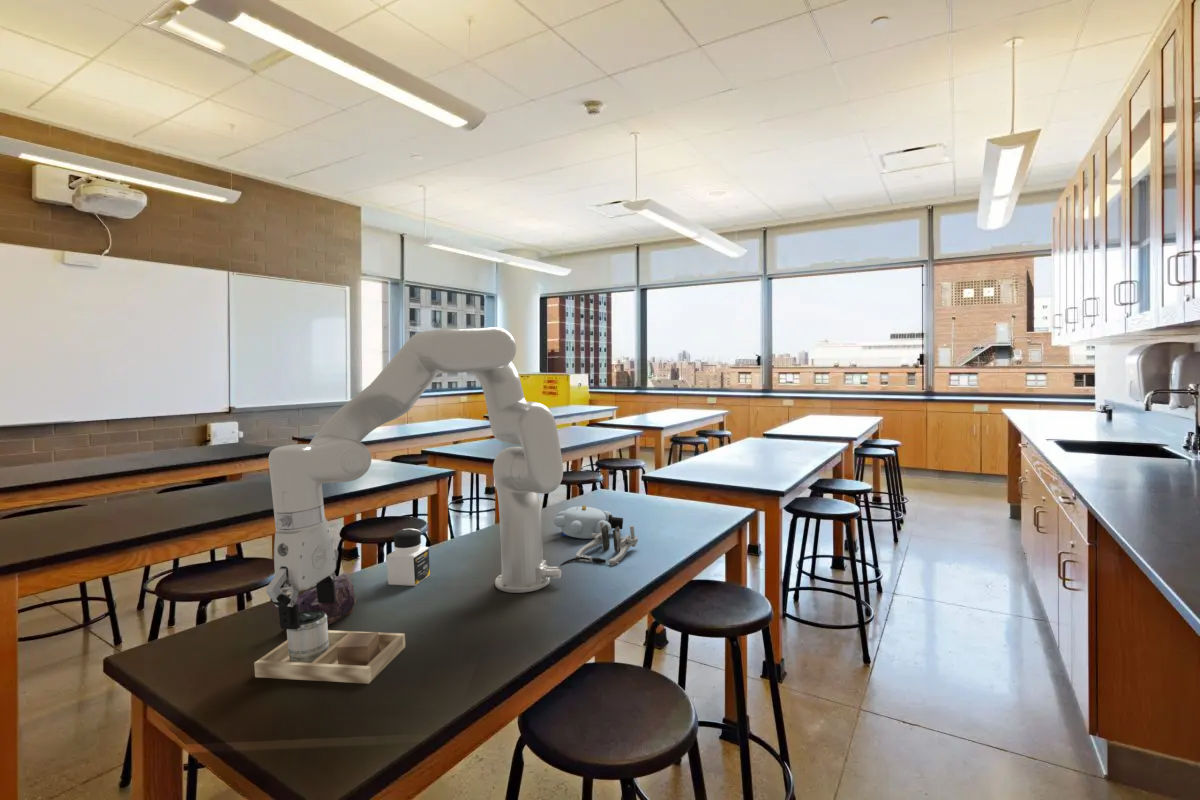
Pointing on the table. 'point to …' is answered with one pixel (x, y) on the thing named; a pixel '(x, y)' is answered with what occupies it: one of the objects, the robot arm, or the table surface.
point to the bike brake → (607, 545)
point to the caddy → (330, 661)
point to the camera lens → (308, 637)
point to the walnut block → (358, 649)
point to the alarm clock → (585, 521)
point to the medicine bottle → (408, 559)
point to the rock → (332, 610)
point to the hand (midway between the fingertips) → (309, 614)
